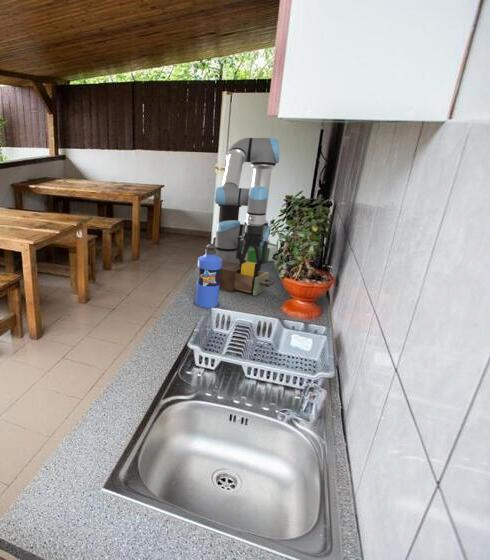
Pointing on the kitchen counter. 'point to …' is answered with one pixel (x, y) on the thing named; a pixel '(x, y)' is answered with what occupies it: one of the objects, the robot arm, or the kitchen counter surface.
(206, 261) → the water bottle
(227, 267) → the cabinet
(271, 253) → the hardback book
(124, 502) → the kitchen counter surface
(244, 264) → the toy block
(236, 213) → the grey black cylinder
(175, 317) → the kitchen counter surface
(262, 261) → the robot arm
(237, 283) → the drawer
